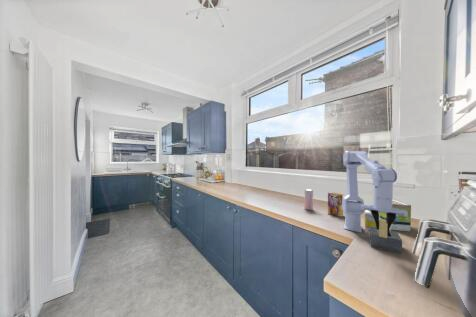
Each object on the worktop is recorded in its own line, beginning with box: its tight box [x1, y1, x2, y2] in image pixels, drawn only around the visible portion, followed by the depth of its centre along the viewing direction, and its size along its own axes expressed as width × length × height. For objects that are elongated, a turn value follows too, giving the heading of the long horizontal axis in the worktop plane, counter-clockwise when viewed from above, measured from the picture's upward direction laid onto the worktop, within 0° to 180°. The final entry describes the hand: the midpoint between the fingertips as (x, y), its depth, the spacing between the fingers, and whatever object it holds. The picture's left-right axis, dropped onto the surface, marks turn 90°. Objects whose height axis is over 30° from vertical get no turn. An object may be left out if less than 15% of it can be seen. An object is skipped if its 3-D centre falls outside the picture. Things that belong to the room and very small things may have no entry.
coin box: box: [369, 226, 403, 255], centre depth 76 cm, size 10×10×6 cm
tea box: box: [379, 198, 412, 232], centre depth 99 cm, size 15×10×15 cm, turn 168°
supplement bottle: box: [364, 210, 380, 231], centre depth 93 cm, size 7×7×13 cm
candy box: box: [327, 191, 344, 218], centre depth 116 cm, size 9×4×15 cm, turn 47°
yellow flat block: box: [378, 219, 388, 238], centre depth 69 cm, size 5×2×6 cm, turn 145°
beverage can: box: [304, 188, 314, 211], centre depth 128 cm, size 6×6×15 cm
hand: (382, 229), depth 69 cm, fingers closed on yellow flat block, 2 cm apart
